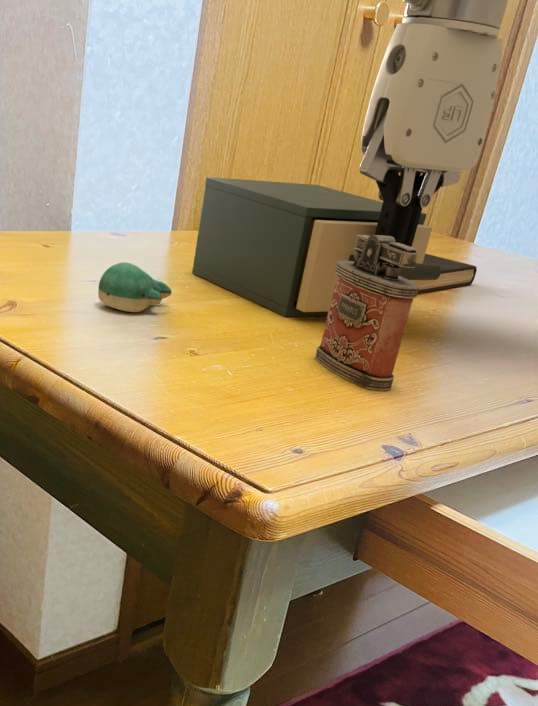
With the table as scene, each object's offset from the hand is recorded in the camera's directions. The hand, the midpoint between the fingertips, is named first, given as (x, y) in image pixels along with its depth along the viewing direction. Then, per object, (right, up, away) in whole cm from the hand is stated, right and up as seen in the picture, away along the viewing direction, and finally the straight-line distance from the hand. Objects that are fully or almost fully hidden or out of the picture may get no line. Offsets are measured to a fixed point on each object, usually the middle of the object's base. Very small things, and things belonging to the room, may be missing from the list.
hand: (390, 250), depth 75 cm
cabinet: (-6, 0, +12) cm, 14 cm away
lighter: (-6, -13, -10) cm, 18 cm away
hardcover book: (+5, +8, +31) cm, 32 cm away
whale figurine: (-23, -5, 0) cm, 23 cm away
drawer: (-4, -2, +8) cm, 9 cm away
